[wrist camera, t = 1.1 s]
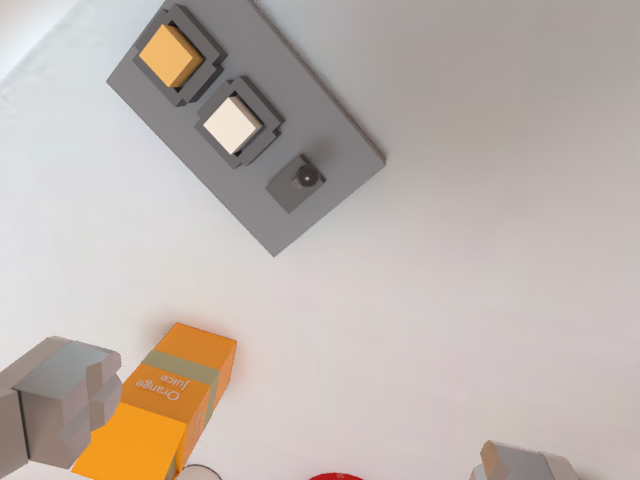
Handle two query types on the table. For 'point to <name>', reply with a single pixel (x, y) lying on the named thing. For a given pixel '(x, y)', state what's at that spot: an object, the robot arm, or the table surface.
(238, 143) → the cream button
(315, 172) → the toggle lever
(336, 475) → the kitchen timer
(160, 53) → the amber button
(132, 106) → the control panel
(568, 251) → the table surface
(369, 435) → the table surface
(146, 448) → the orange juice
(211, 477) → the milk bottle
